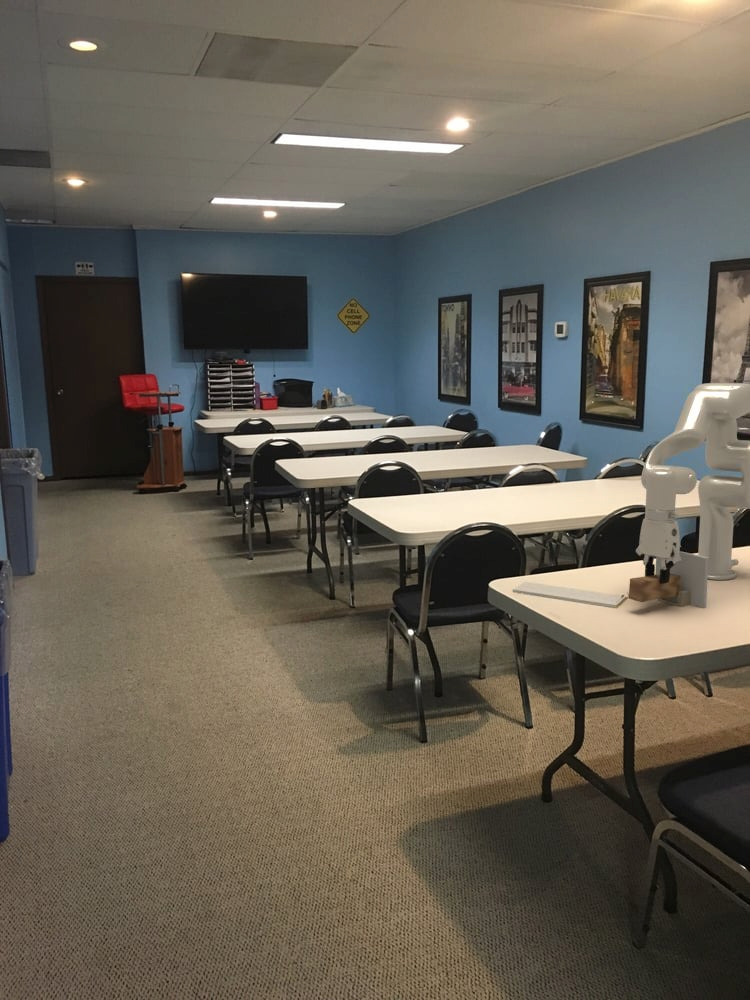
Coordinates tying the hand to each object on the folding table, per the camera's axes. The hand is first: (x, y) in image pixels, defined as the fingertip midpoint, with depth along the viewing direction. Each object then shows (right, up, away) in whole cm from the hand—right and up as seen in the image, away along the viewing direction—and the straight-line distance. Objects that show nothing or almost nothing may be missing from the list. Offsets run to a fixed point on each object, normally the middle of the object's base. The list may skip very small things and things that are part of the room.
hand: (656, 580), depth 212 cm
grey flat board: (-20, -6, +15) cm, 26 cm away
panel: (+7, -7, +5) cm, 11 cm away
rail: (-1, -5, 0) cm, 5 cm away
